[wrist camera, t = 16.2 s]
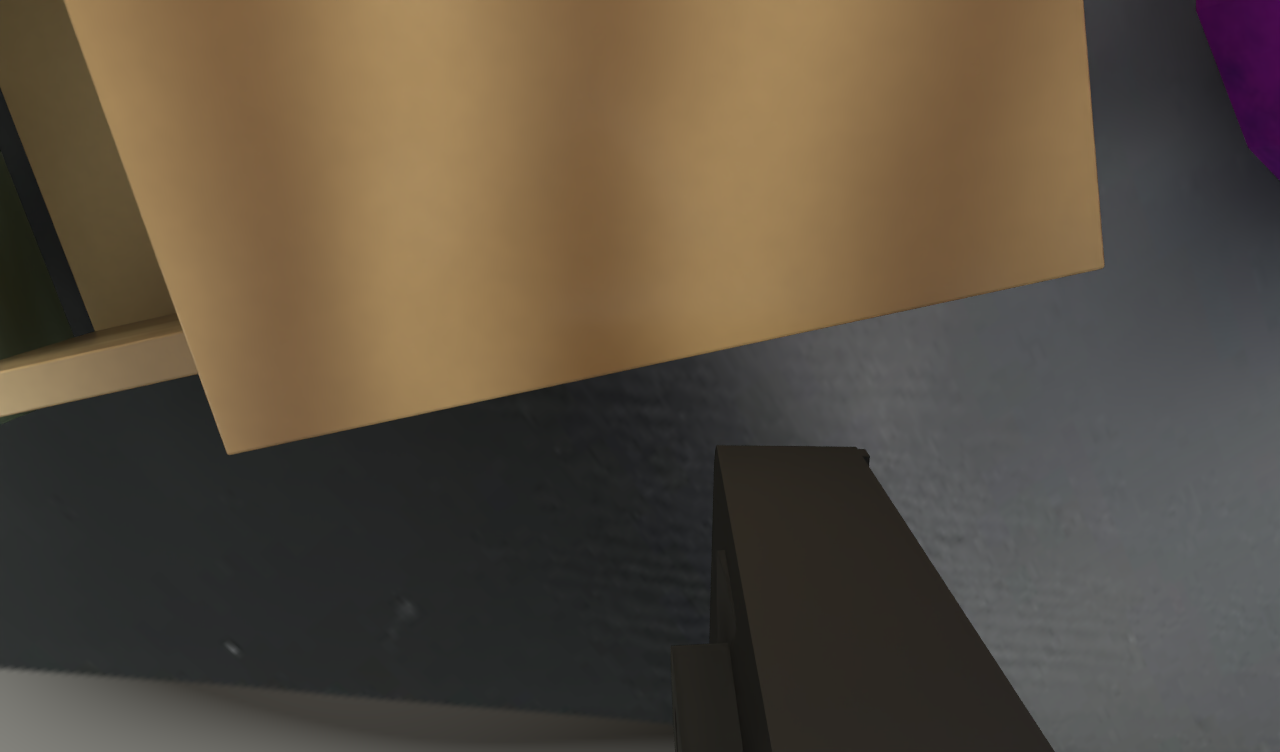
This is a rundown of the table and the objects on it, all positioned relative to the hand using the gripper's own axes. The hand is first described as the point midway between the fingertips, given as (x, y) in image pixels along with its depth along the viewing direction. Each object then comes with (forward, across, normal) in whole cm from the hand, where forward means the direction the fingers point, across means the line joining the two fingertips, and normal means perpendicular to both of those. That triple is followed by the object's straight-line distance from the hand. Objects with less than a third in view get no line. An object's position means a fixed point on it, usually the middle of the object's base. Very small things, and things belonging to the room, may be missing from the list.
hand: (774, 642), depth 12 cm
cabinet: (+12, +2, -9) cm, 16 cm away
